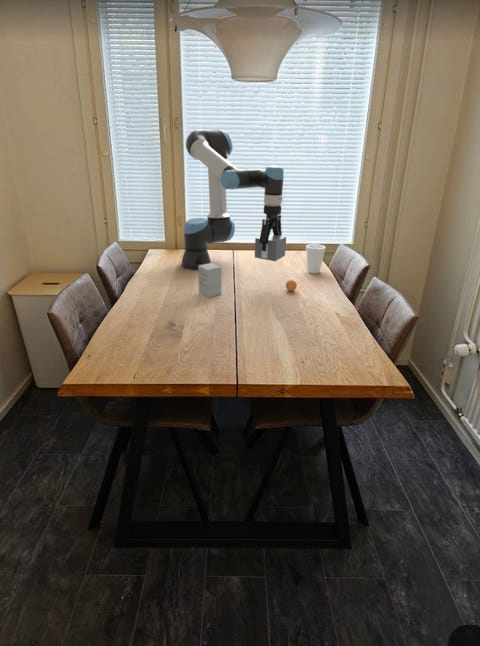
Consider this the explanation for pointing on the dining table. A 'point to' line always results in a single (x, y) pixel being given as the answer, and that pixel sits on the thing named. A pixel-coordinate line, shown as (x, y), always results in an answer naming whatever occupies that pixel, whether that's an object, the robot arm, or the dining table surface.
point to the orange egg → (291, 285)
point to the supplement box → (209, 279)
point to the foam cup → (314, 257)
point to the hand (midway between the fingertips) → (269, 254)
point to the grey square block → (272, 247)
